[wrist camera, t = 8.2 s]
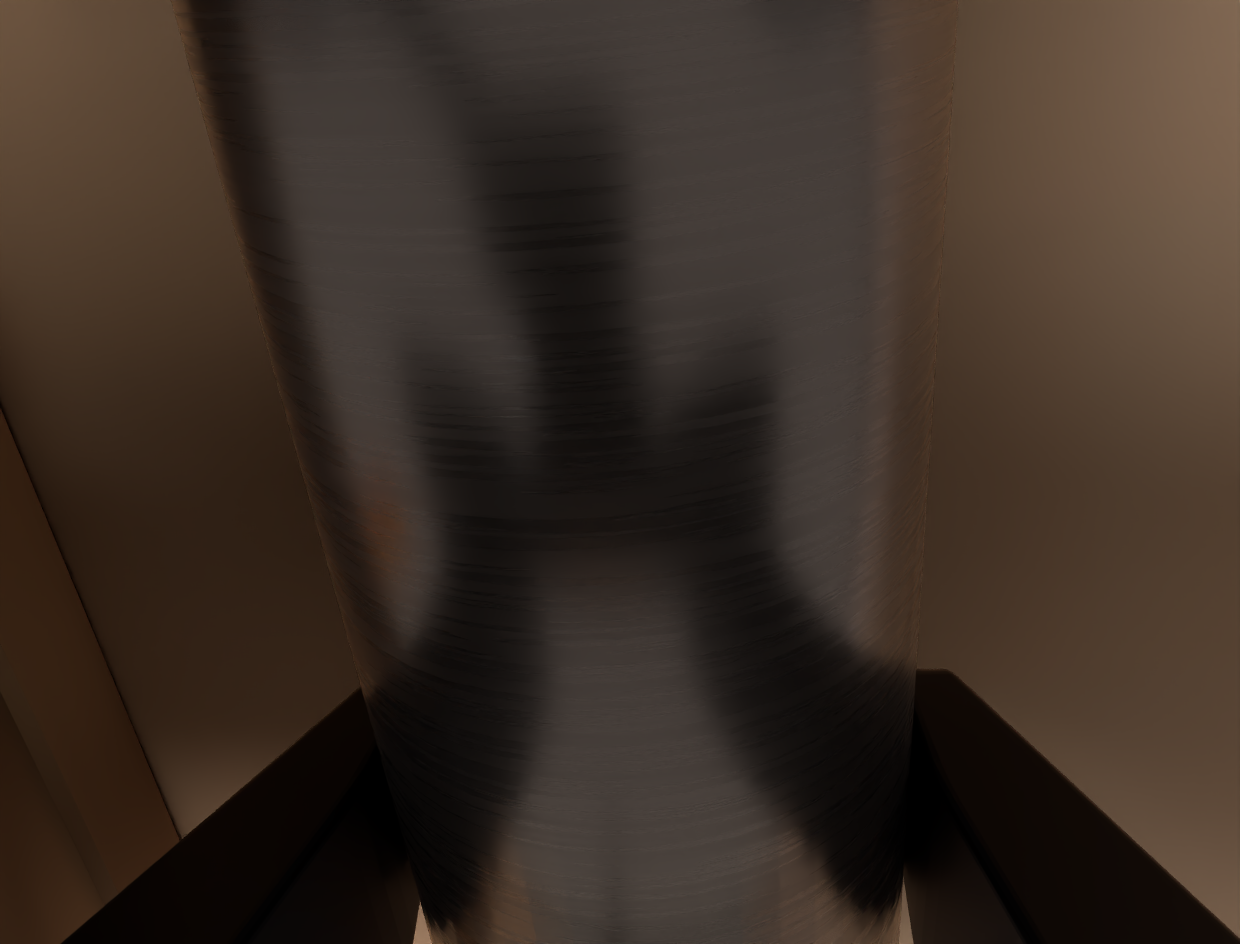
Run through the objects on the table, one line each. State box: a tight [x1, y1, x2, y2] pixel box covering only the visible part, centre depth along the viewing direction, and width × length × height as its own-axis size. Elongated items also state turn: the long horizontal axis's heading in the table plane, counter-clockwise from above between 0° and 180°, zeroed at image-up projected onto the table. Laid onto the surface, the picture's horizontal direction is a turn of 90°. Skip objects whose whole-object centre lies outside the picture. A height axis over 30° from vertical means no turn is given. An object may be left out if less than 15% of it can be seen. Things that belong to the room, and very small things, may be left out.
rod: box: [171, 0, 958, 944], centre depth 6 cm, size 14×4×4 cm, turn 5°
